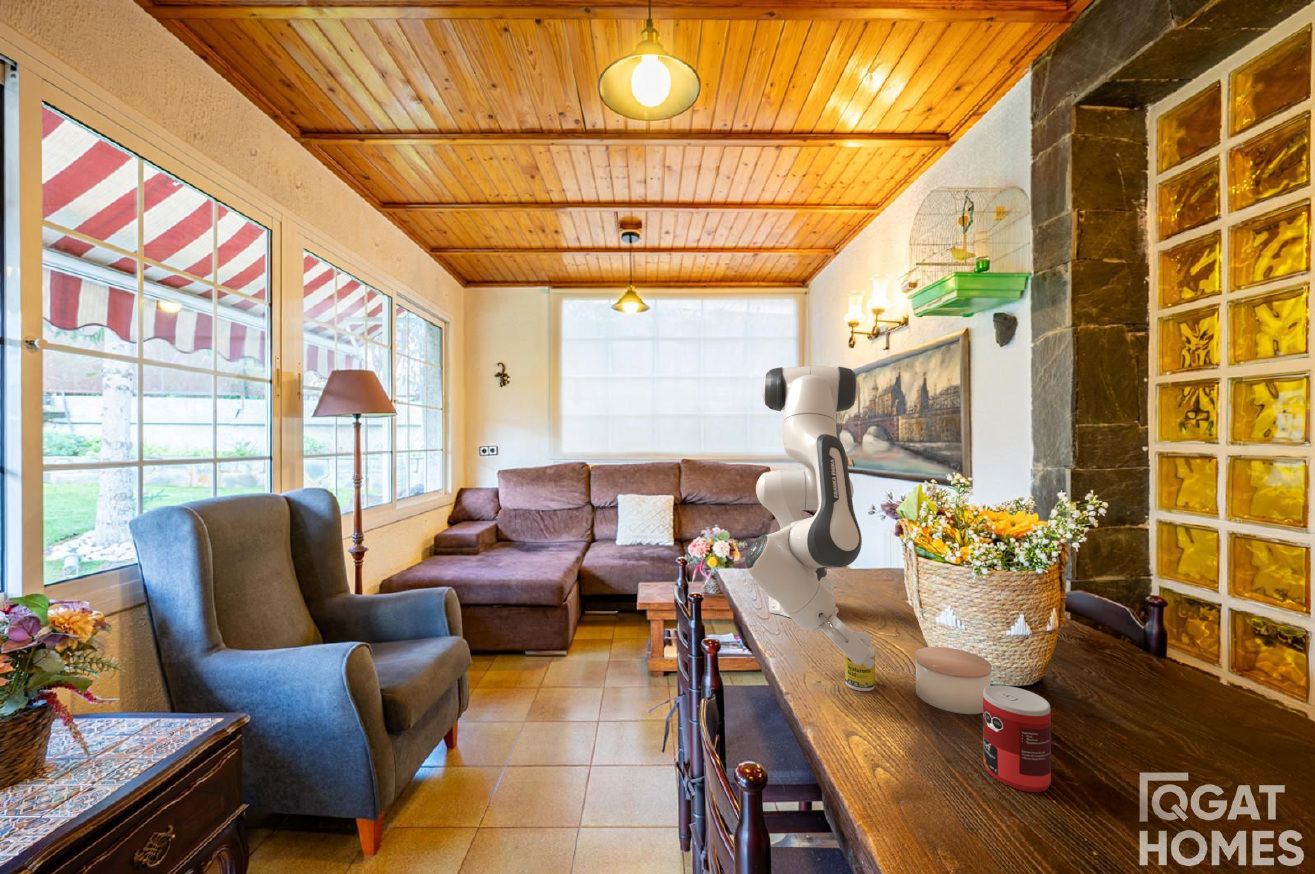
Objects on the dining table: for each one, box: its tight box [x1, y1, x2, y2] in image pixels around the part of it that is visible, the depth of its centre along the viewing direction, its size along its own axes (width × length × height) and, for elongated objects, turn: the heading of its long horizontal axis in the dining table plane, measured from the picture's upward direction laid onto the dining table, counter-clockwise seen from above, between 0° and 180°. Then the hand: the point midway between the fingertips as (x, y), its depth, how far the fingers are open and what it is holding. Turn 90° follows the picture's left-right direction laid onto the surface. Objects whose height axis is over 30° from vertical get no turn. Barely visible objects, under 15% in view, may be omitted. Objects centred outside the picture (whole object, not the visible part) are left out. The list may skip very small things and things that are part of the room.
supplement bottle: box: [844, 630, 876, 692], centre depth 104 cm, size 5×5×10 cm
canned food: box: [982, 684, 1052, 793], centre depth 76 cm, size 8×8×11 cm
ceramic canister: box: [914, 646, 993, 715], centre depth 99 cm, size 12×12×7 cm
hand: (863, 657), depth 104 cm, fingers closed on supplement bottle, 5 cm apart
